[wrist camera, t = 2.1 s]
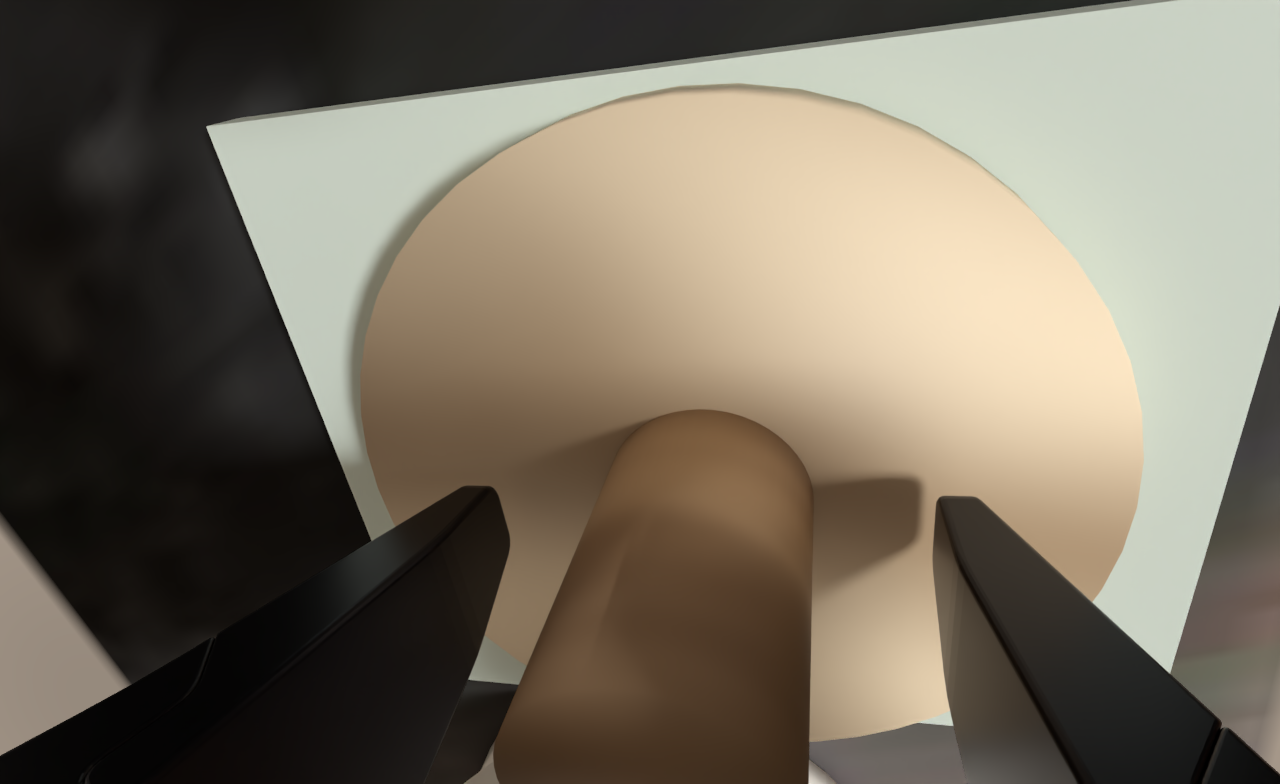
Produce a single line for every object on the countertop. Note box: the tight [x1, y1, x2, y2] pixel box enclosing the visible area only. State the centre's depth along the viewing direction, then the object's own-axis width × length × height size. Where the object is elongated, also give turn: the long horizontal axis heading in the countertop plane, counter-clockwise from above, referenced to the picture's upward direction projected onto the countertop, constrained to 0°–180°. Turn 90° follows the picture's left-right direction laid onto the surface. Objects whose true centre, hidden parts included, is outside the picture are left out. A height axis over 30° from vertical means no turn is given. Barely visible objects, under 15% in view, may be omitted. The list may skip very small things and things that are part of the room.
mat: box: [206, 0, 1280, 726], centre depth 10 cm, size 10×12×1 cm
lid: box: [360, 83, 1144, 784], centre depth 8 cm, size 10×10×5 cm
